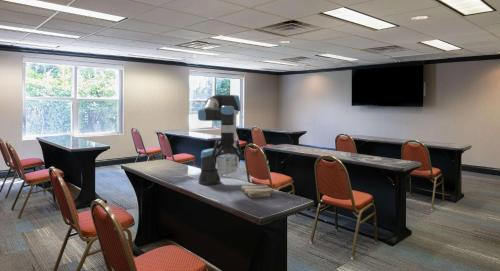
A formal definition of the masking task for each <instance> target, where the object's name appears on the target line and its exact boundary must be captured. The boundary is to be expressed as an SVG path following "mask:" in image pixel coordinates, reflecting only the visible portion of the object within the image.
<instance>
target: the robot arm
mask: <svg viewBox="0 0 500 271" xmlns="http://www.w3.org/2000/svg"><path fill="white" fill-rule="evenodd" d="M204 102H205V103H204V108H203V107H202V108H198V111H197V119H198V121H201V122H202V121H203V122H208V121H209V122H212V121H213V122H221V123H220V131H221V132H220V140H215V144H214V147H213V148H207V149H203V150H202V151H201V152H200V174H199V177H198V182H197V183H198V184H200V185H206V186H211V185H218V184H220V183H221V177H220V174H218V156H220V155H225V154H236V155H237V169H238V168H240V167H239V163H240V162H241V157H242V156H244V152H243V150H242V147H241V146H240V140H238V139H237V115H238V114H239V112H241V101H240V97H239V95H236V94H215V95H212V96H210V97H208V98H207V99H206V100H205V101H204ZM219 145H220V146H219ZM218 147H219V148H218Z"/></svg>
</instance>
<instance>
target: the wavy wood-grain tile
mask: <svg viewBox="0 0 500 271" xmlns="http://www.w3.org/2000/svg"><path fill="white" fill-rule="evenodd" d="M240 188H241V190H243V191H244V193H245V194H246V195H247V196H248V197H249V198H250V199H253V198H255V199H257V198H267V197H271V193H275V189H273V188H272V187H270V186H268V184H266V183H261V184H260V183H259V184H247V185H240Z"/></svg>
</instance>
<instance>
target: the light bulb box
mask: <svg viewBox="0 0 500 271" xmlns="http://www.w3.org/2000/svg"><path fill="white" fill-rule="evenodd" d="M237 169H238V168H237V155H236V154H225V155H220V156H218V174H219V175H224V176H227V175H230V174H233V173H237Z"/></svg>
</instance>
